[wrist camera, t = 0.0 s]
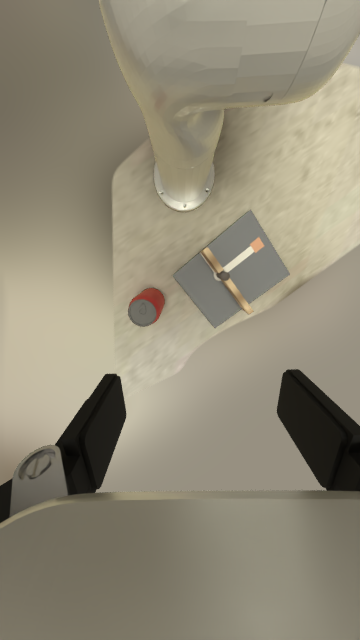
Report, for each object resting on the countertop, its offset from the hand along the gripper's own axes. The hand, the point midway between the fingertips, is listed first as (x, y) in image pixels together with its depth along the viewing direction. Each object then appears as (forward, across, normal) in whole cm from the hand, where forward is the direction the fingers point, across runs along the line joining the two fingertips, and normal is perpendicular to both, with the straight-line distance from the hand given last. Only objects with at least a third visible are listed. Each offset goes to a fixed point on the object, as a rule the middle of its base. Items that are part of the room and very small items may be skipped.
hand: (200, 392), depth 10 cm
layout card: (+37, -11, -4) cm, 38 cm away
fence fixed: (+36, -6, -7) cm, 37 cm away
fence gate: (+35, -11, 0) cm, 37 cm away
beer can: (+37, +9, +2) cm, 38 cm away
